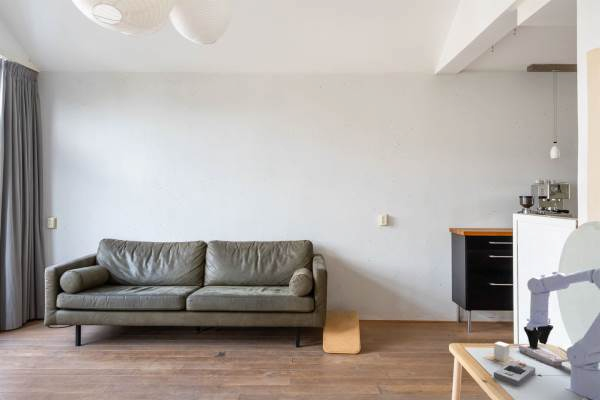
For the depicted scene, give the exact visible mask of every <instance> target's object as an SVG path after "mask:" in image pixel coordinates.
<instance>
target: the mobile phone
mask: <svg viewBox="0 0 600 400" xmlns="http://www.w3.org/2000/svg"><path fill="white" fill-rule="evenodd" d="M518 351H520V352H521V353H523V354H524V355H526V356H529V357H531V358H534V359H536V360H538V361H541V362H542V363H545V364H547V365H550V366H551V367H555V366H560V365H563V364H562V363H566V362H567V363H568V362H570V361H569V360H568V358H567V359H563V358H560V357H559V356H557V355H554V354H552V353H550V352H549V351H545V350H543V349H542V348H540V347H538V346H537V348H536V349H535V348H532V347H530V345H529V343H528V344H527V343H526V344H521V345H520V344H519V345H518Z"/></svg>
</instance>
